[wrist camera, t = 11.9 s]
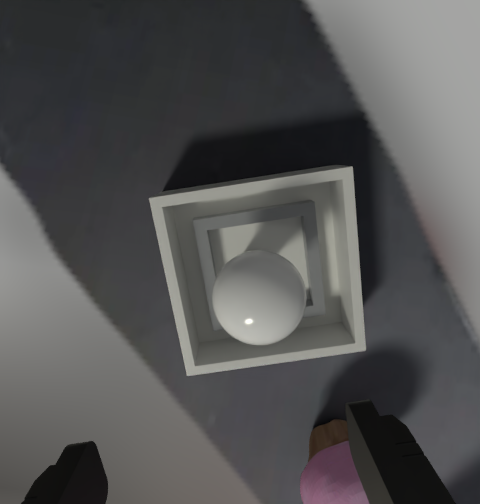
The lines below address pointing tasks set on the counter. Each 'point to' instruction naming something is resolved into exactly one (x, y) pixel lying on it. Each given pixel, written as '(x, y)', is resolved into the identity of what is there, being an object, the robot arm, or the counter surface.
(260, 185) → the walled box
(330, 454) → the cupcake
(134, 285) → the counter surface
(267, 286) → the lightbulb
